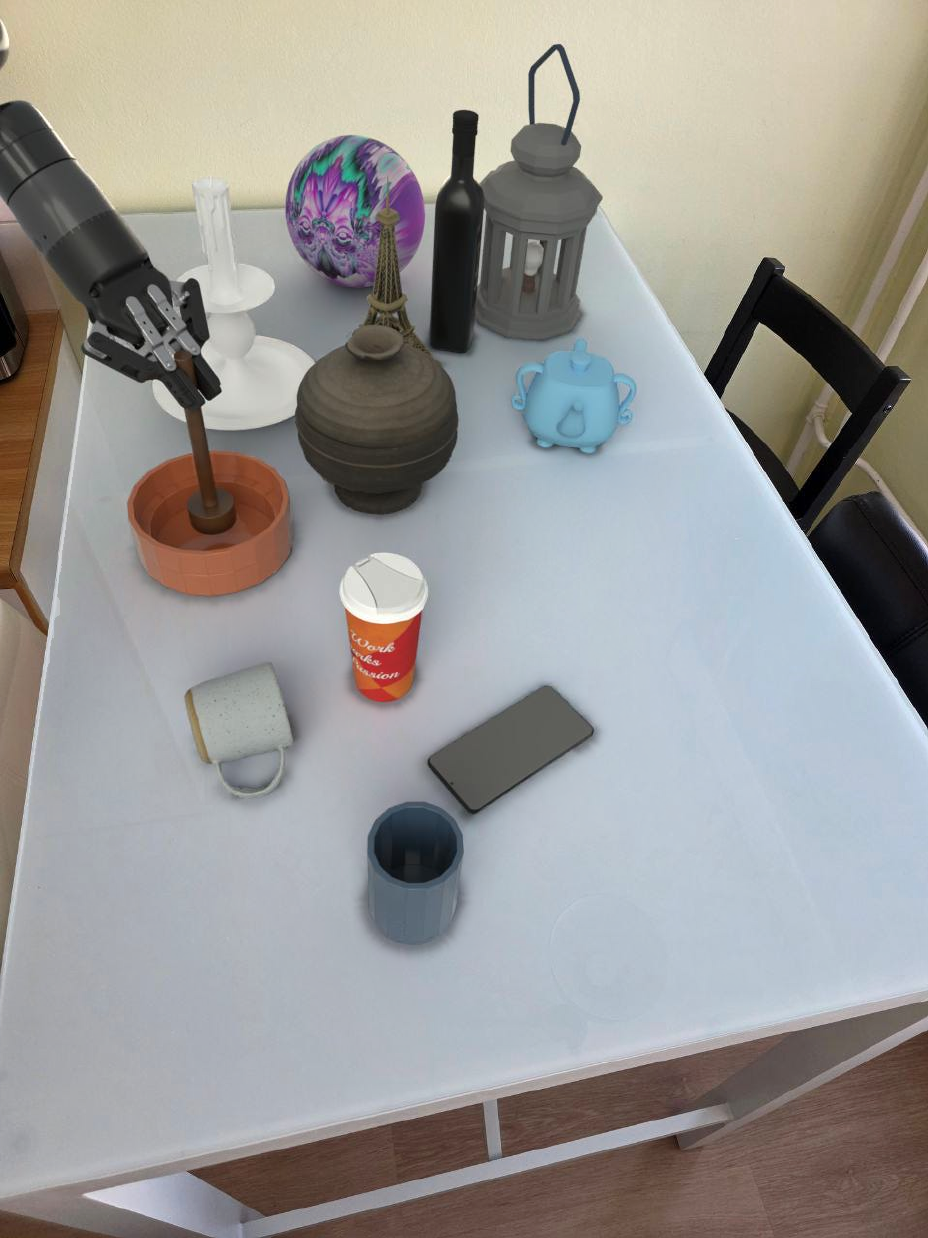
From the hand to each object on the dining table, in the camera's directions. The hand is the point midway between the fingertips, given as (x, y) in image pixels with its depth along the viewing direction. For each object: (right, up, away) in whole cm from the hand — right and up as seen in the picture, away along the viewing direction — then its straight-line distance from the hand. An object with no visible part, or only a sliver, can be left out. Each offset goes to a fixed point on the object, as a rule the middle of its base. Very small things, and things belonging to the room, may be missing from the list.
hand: (207, 401), depth 84 cm
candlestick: (-6, +9, +34) cm, 35 cm away
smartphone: (+28, -32, 0) cm, 43 cm away
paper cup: (+16, -26, +4) cm, 31 cm away
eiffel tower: (+13, +15, +40) cm, 45 cm away
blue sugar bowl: (+37, +3, +32) cm, 49 cm away
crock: (+20, -43, -10) cm, 49 cm away
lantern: (+33, +26, +52) cm, 67 cm away
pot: (+14, -5, +23) cm, 27 cm away
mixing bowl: (-3, -12, +15) cm, 19 cm away
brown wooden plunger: (-3, -10, +13) cm, 16 cm away
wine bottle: (+22, +19, +45) cm, 53 cm away
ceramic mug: (+4, -32, -2) cm, 32 cm away
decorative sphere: (+7, +32, +55) cm, 63 cm away
